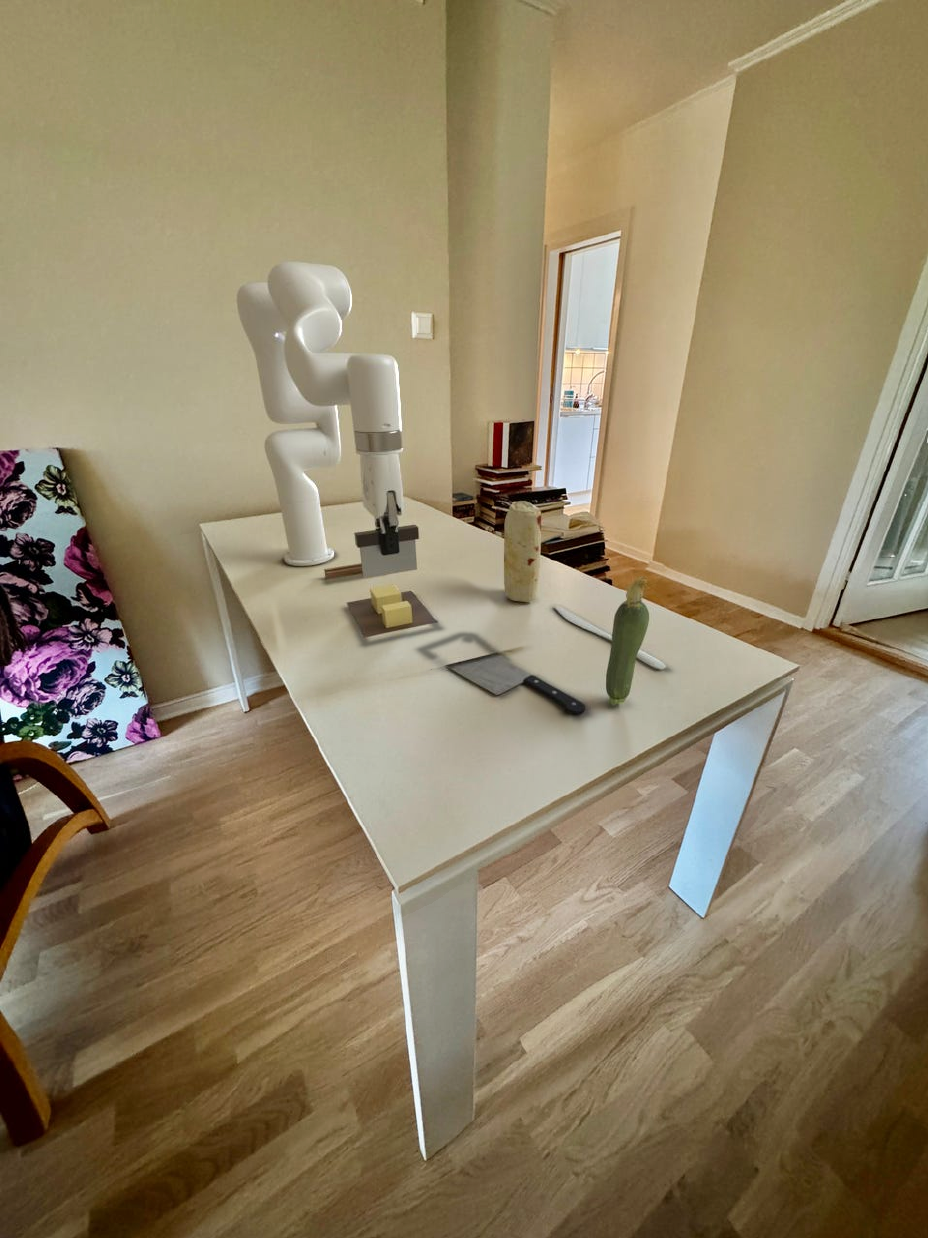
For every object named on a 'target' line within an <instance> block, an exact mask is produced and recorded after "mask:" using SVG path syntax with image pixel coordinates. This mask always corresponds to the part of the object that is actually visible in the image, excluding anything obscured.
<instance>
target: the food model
mask: <svg viewBox="0 0 928 1238" xmlns="http://www.w3.org/2000/svg"><path fill="white" fill-rule="evenodd" d="M503 537H504V538H503V539H504V540H503V541H504V543H503V585H504V591H505V594H506V595H505V596H506V597H508V599H509V600H511V601H513V602H525V603H530V602H533V601H534V600H535V599H536V597H537V592H538V587H539V578H540V567H541V566H540V565H541V548H542V511H541V510H540V508H539V507H538V506H536V505H534V504H532V503H531V502H529V501H526V500H520V501H519V500H518V501H515V502H512V503H511V504H509V508H508V511H507V513H506V515H505V519H504V536H503Z"/></svg>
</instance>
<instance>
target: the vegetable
mask: <svg viewBox="0 0 928 1238" xmlns="http://www.w3.org/2000/svg"><path fill="white" fill-rule="evenodd" d="M647 583H649V581H648V578H647V577H646V576H644V577H639V578H636V579H635V580H634V581H633V582H632V583H631V584H630V585H629V586H628V588H627V591H626V592H625V599H626V600H625V601H623V602H622V603H621V604H619V606H618V607H617V609H616V611H615V613H614V618H613V625H612V631H611V633H612V634H611V636H612V641H611V645H610V651H609V658H608V662H607V663H608V664H607V668H606V674H605V690H606V694H607V696H608V697H609V701H610V703H611V706H615V705H617V704H622V703H625V702H626V700H627V699H626V698H628V696H629V695H630V693H631V689H632V683H633V679H634V673H635V668H636V667H635V666H636V661H637V654H638V651H639V650H641V647H642V645H643V643H644V640H645V636H646V634H647V632H648V631H647V630H648V627H649V622H650V612H649V609H648V607H647V606H646V604H645V603H644V602H643V601H642V600H643V596H644V595H643V594H644V590H648V585H647Z"/></svg>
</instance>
